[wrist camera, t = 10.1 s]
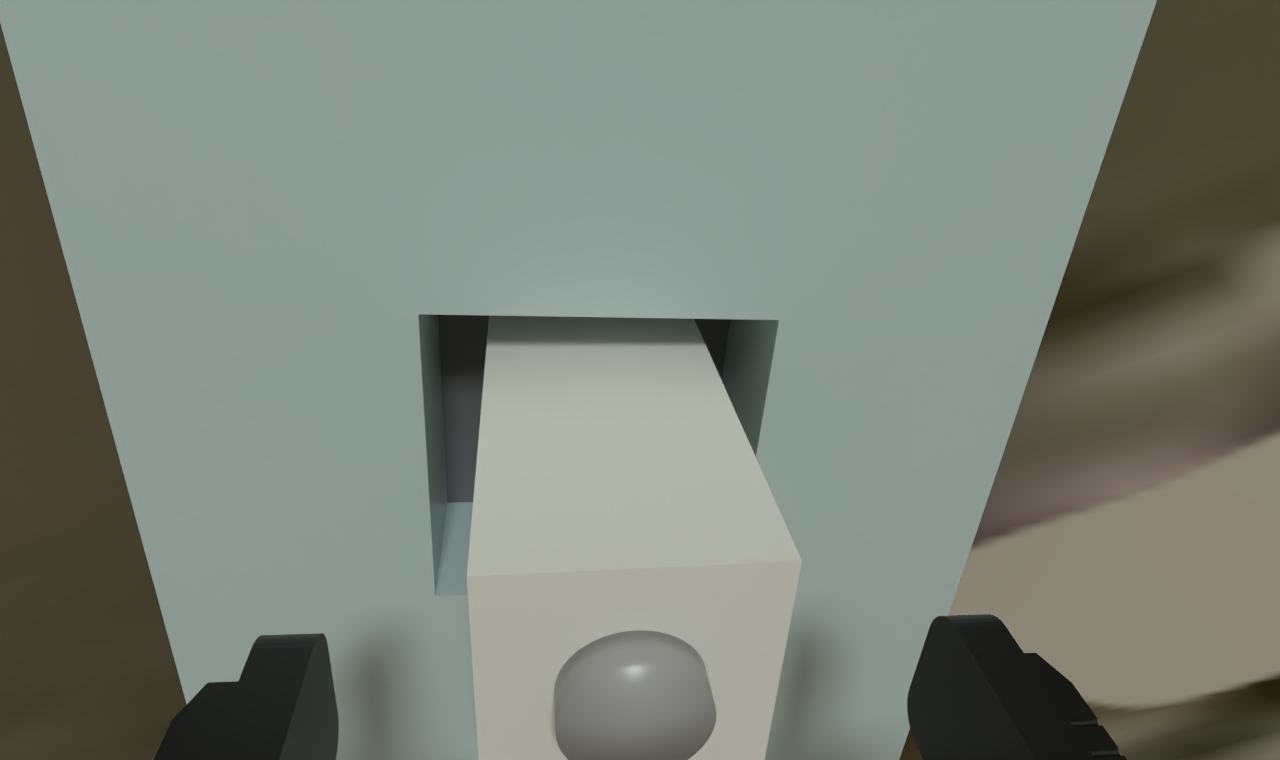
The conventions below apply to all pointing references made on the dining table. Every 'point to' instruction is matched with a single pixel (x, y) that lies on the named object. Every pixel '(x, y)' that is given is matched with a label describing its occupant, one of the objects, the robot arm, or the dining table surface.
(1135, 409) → the dining table surface
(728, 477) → the cream block with knob
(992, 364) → the outlet block
